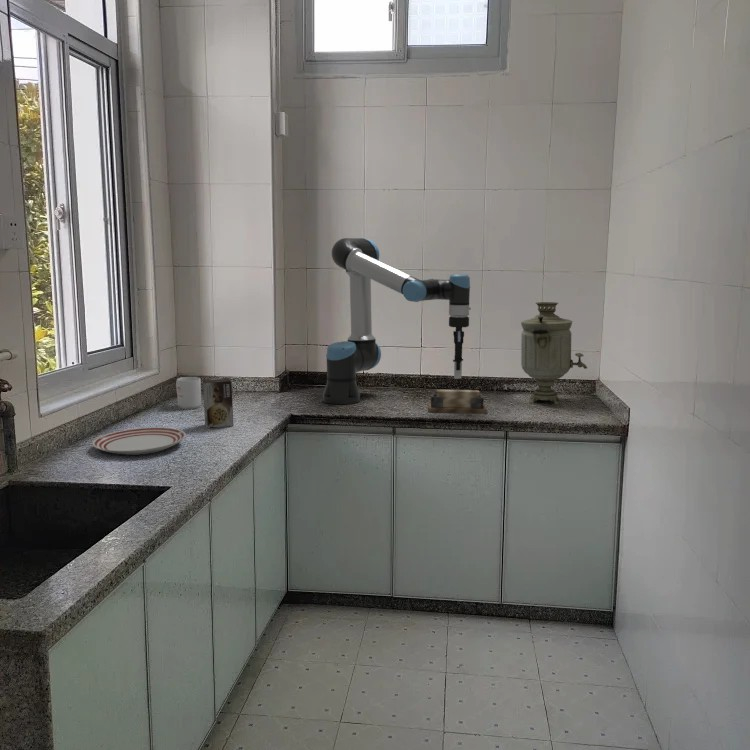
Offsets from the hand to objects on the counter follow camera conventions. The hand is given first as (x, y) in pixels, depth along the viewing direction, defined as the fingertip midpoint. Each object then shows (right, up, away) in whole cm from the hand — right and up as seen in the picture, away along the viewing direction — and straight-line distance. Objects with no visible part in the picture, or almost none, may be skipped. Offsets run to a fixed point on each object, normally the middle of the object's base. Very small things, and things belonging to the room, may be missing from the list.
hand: (457, 378), depth 272 cm
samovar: (+39, -10, +17) cm, 44 cm away
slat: (0, -11, +2) cm, 11 cm away
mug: (-104, -11, +6) cm, 105 cm away
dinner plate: (-104, -21, -51) cm, 118 cm away
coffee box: (-86, -16, -23) cm, 90 cm away
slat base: (0, -12, +2) cm, 12 cm away
